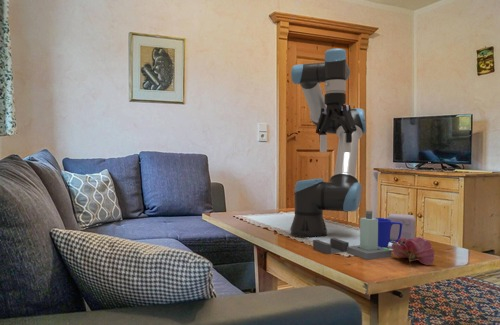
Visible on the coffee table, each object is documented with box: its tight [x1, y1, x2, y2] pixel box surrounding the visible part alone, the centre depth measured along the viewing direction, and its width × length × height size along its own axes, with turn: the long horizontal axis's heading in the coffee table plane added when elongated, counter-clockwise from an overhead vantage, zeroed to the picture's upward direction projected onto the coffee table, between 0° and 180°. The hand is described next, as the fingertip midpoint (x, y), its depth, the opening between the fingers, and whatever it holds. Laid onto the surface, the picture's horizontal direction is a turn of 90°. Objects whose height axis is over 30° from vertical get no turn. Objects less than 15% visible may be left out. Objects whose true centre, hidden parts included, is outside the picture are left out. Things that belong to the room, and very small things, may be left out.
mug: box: [374, 217, 402, 249], centre depth 142 cm, size 8×12×10 cm
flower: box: [391, 236, 435, 268], centre depth 122 cm, size 11×10×10 cm
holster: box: [312, 237, 350, 255], centre depth 135 cm, size 8×9×4 cm
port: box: [346, 244, 393, 261], centre depth 129 cm, size 10×10×3 cm
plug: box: [359, 210, 378, 251], centre depth 129 cm, size 4×4×14 cm
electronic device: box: [386, 213, 416, 241], centre depth 153 cm, size 10×5×10 cm, turn 63°
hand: (334, 152), depth 142 cm, fingers open, 13 cm apart
